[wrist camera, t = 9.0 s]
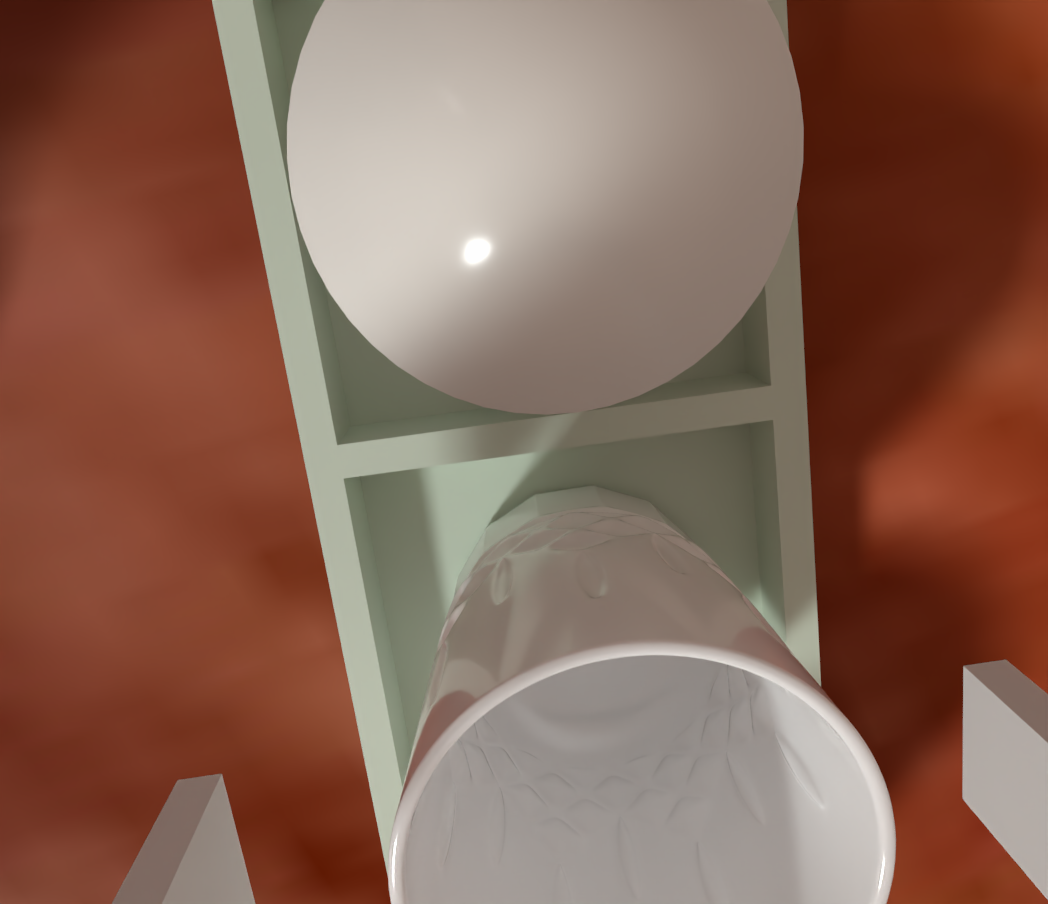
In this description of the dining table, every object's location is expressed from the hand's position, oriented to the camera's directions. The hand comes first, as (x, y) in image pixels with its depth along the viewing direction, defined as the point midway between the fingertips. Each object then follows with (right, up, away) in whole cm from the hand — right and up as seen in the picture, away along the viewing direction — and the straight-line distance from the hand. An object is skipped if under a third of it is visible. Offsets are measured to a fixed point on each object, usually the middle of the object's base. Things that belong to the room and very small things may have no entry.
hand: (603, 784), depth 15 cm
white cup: (0, +2, +8) cm, 8 cm away
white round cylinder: (-1, +12, +5) cm, 13 cm away
